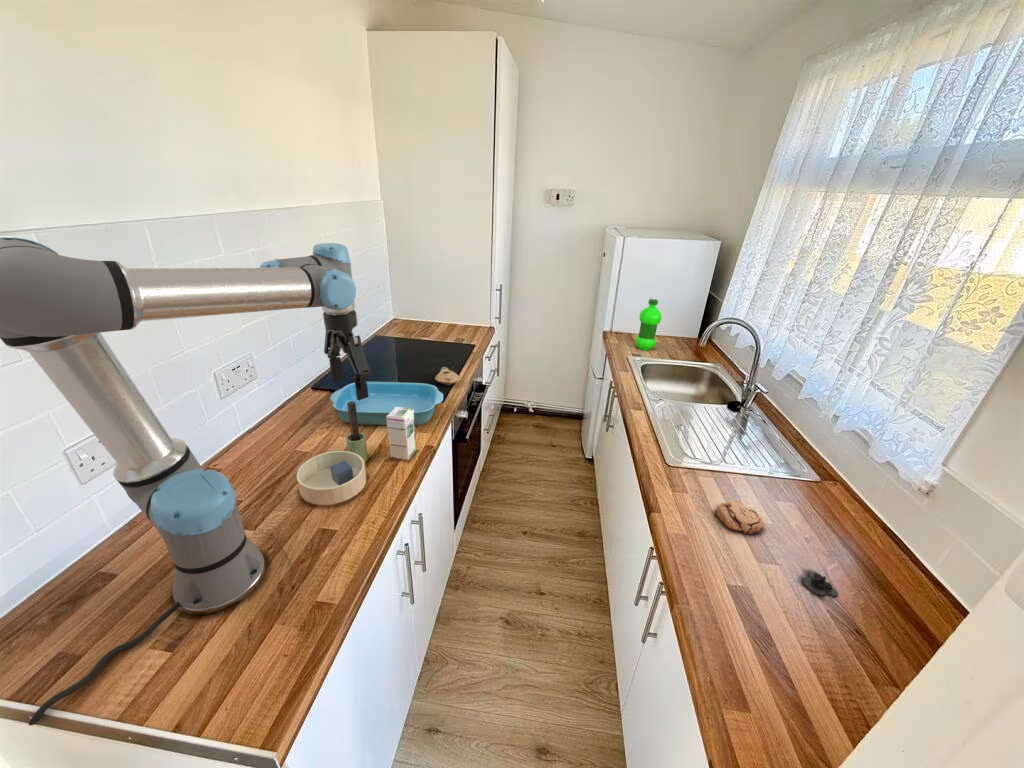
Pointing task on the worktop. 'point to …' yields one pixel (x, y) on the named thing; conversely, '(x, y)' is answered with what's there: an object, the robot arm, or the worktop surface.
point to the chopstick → (353, 421)
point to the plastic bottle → (648, 326)
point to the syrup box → (401, 432)
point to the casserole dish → (388, 401)
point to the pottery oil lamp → (446, 376)
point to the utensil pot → (357, 446)
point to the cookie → (740, 517)
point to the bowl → (330, 478)
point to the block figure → (818, 585)
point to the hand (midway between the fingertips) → (349, 389)
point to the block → (341, 473)
